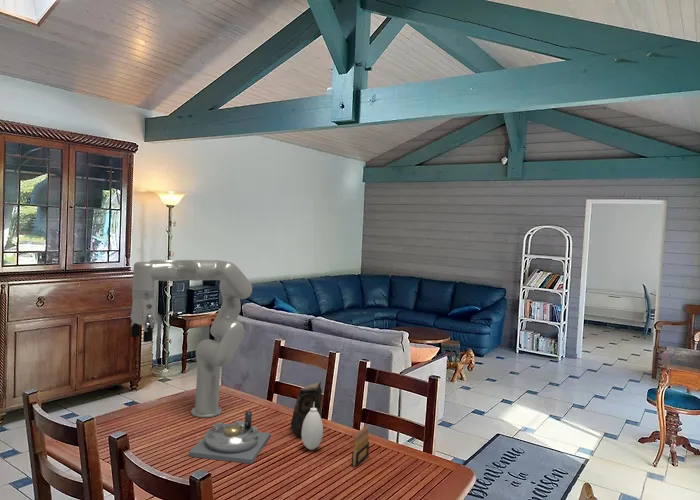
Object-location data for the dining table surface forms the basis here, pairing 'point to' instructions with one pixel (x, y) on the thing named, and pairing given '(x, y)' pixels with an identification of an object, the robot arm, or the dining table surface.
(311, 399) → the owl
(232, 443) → the grey crank wheel
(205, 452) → the plate
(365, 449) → the brown flat upright block
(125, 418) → the dining table surface
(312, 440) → the white air blower bulb
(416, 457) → the dining table surface
